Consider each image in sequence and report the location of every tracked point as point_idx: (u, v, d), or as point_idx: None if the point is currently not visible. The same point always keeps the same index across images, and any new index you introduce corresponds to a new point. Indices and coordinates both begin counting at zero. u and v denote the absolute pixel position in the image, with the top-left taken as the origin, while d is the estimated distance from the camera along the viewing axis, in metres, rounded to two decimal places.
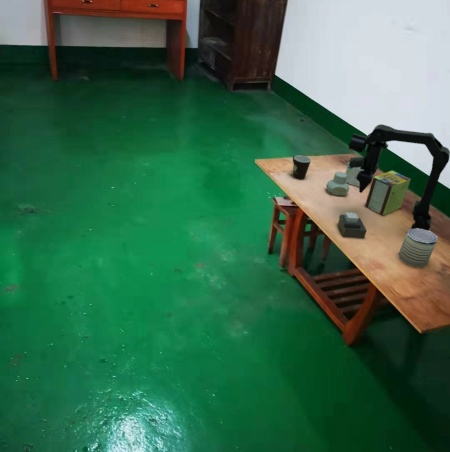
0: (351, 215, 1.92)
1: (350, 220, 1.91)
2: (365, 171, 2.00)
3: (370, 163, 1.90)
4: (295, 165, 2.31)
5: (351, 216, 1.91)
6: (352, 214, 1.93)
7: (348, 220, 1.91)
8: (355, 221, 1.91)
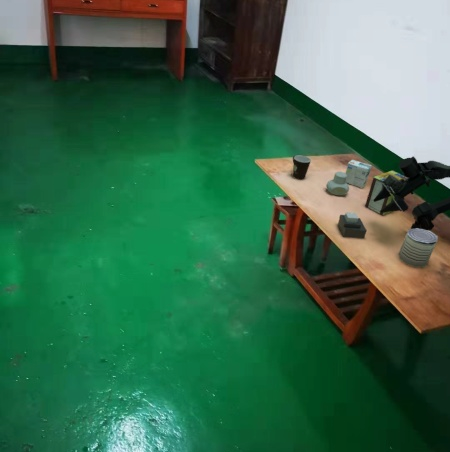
0: (351, 215, 1.92)
1: (350, 220, 1.91)
2: (384, 190, 1.92)
3: (407, 191, 1.83)
4: (295, 165, 2.31)
5: (351, 216, 1.91)
6: (352, 214, 1.93)
7: (348, 220, 1.91)
8: (355, 221, 1.91)
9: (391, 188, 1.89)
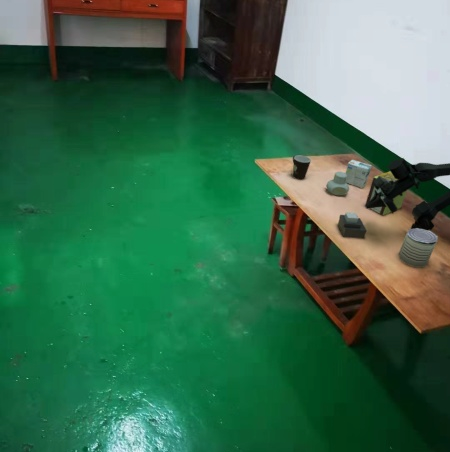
0: (351, 215, 1.92)
1: (350, 220, 1.91)
2: (376, 196, 1.88)
3: (397, 193, 1.84)
4: (295, 165, 2.31)
5: (351, 216, 1.91)
6: (352, 214, 1.93)
7: (348, 220, 1.91)
8: (355, 221, 1.91)
9: (384, 194, 1.85)
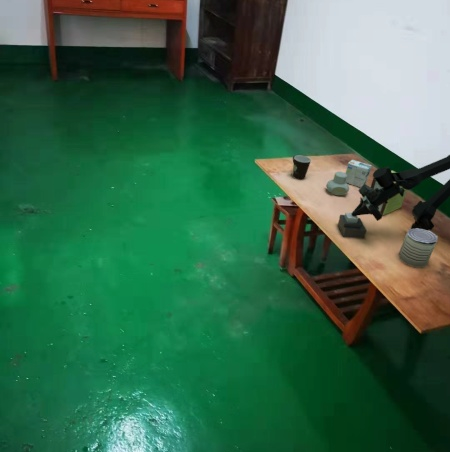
0: (351, 215, 1.92)
1: (350, 220, 1.91)
2: None
3: (382, 201, 1.85)
4: (295, 165, 2.31)
5: (351, 217, 1.91)
6: None
7: (348, 220, 1.91)
8: (355, 221, 1.91)
9: (369, 202, 1.87)
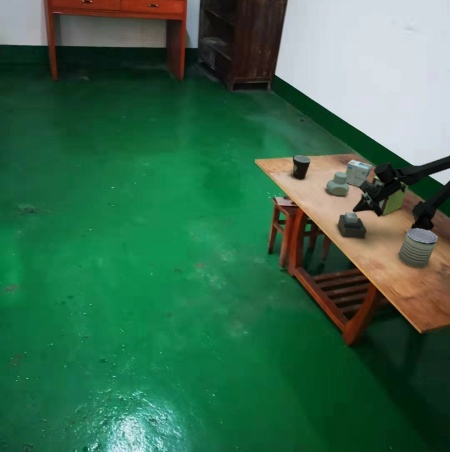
0: (351, 215, 1.92)
1: (350, 220, 1.91)
2: None
3: (383, 197, 1.84)
4: (295, 165, 2.31)
5: (351, 216, 1.91)
6: (352, 214, 1.93)
7: (348, 220, 1.91)
8: (355, 221, 1.91)
9: (370, 198, 1.86)
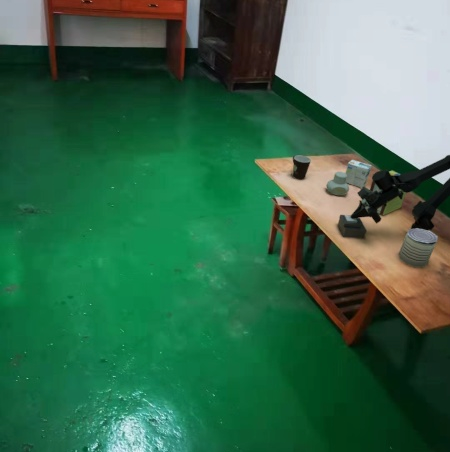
0: (350, 218, 1.92)
1: None
2: None
3: (381, 203, 1.86)
4: (295, 165, 2.31)
5: (351, 219, 1.92)
6: None
7: None
8: None
9: (368, 205, 1.87)
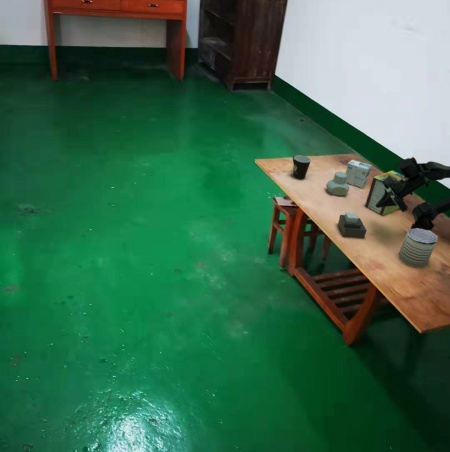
0: (351, 215, 1.92)
1: (350, 220, 1.91)
2: (386, 196, 1.88)
3: (407, 192, 1.83)
4: (295, 165, 2.31)
5: (351, 216, 1.91)
6: (352, 214, 1.93)
7: (348, 220, 1.91)
8: (355, 221, 1.91)
9: (394, 193, 1.85)
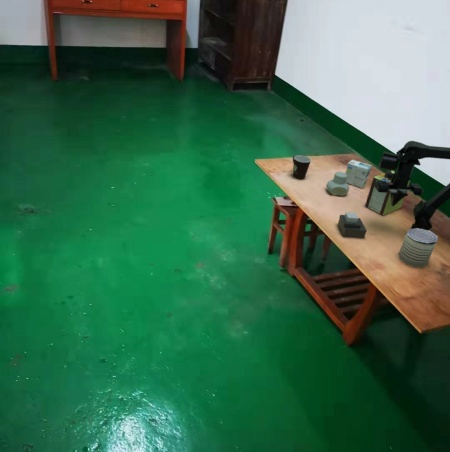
0: (351, 215, 1.92)
1: (350, 220, 1.91)
2: (397, 192, 1.92)
3: (395, 177, 1.87)
4: (295, 165, 2.31)
5: (351, 216, 1.91)
6: (352, 214, 1.93)
7: (348, 220, 1.91)
8: (355, 221, 1.91)
9: None
